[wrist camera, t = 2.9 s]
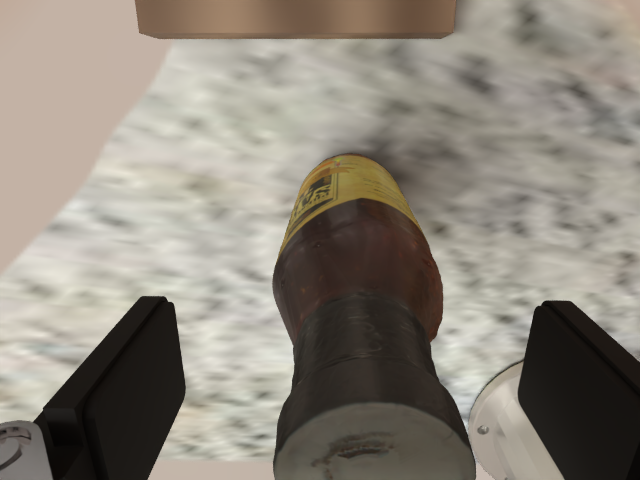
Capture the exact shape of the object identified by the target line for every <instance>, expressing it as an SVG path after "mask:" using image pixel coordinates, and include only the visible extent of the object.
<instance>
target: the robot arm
mask: <svg viewBox="0 0 640 480" xmlns="http://www.w3.org/2000/svg"><path fill="white" fill-rule="evenodd" d="M185 389H186V387H185V378H184V371H183V364H182V357H181V350H180V342H179V335H178V328H177V321H176V314H175V307H174V304H173V303H172V302H168V301H167V299H166V297H164V296H142V297H140V298H139V299H138V301H137V302H136V303H135V304H134V305H133V306H132V307H131V308H130V310H129V311H128V312H127V313H126V314H125V315H124V316H123V318H122V319H121V320H120V321H119V322H118V323H117V324H116V326H115V327H114V328H113V329H112V330H111V331H110V332H109V333H108V335H107V336H106V337H105V338H104V339H103V340H102V341H101V343H100V344H99V345H98V346H97V347H96V348H95V349H94V351H93V352H92V353H91V354H90V355H89V356H88V357H87V358H86V360H85V361H84V362H83V363H82V364H81V365H80V366H79V368H78V369H77V370H76V371H75V372H74V373H73V374H72V376H71V377H70V378H69V379H68V380H67V381H66V382H65V384H64V385H63V386H62V387H61V388H60V389H59V390H58V391H57V393H56V394H55V395H54V396H53V397H52V398H51V399H50V401H49V402H48V403H47V404H46V405H45V406H44V407H43V411H42V412H41V413H40V415H39V416H38V417H37V418H36V419H35V420H34V422H31V421H22V420H17V421H10V422H5V423H1V424H0V480H147V479H148V477H149V475H150V473H151V470H152V468H153V466H154V464H155V462H156V460H157V457H158V455H159V453H160V451H161V449H162V447H163V444H164V442H165V440H166V438H167V436H168V433H169V431H170V429H171V427H172V425H173V422H174V420H175V418H176V416H177V414H178V411H179V409H180V407H181V405H182V403H183V400H184V397H185ZM468 430H469V439H470V442H471V446H472V449H473V451H474V453H475V456H476V458H477V460H478V462H479V463H480V465H481V466H482V467H483V469H484V470H485V471H486V472H487V473H488V474H489V475H491V476H492V477H493V478H494V479H495V480H640V362H639V361H638V360H636V359H635V358H634V357H633V356H632V355H631V354H630V353H629V352H627V351H626V350H625V349H624V348H623V347H622V346H621V345H620V344H619V343H617V342H616V341H615V340H614V339H613V338H612V337H611V336H610V335H608V334H607V333H606V332H605V331H604V330H603V329H602V328H601V327H599V326H598V325H597V324H596V323H595V322H594V321H593V320H592V319H590V318H589V317H588V316H587V315H586V314H585V313H584V312H583V311H582V310H580V309H579V308H578V307H577V306H576V305H575V304H574V303H572V302H571V301H547V300H546V301H544V302H543V303H542V305H541V306H537V307H536V309H535V311H534V315H533V320H532V324H531V329H530V334H529V339H528V343H527V348H526V353H525V357H524V361H523V362H521V363H519V364H517V365H515V366H513V367H511V368H509V369H508V370H506V371H505V372H503V373H502V374H500V375H499V376H497V377H496V378H495V379H494V380H493V381H492V382H491V383H490V384H488V385H487V386H486V387H485V389H484V390H483V391H482V393H481V394H480V395H479V397H478V398H477V400H476V402H475V404H474V406H473V408H472V410H471V414H470V418H469V423H468Z"/></svg>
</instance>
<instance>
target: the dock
mask: <svg viewBox="0 0 640 480" xmlns="http://www.w3.org/2000/svg"><path fill="white" fill-rule="evenodd" d="M135 4H136V11H137V18H138V27H139V33H141V34H144V35H148V36H151V37H154V38H158V39H441V38H443V37H445V36H447V35H449V34H451V33H453V29H454V19H455V9H456V0H135Z"/></svg>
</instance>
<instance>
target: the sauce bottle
mask: <svg viewBox="0 0 640 480" xmlns="http://www.w3.org/2000/svg"><path fill="white" fill-rule="evenodd" d="M272 285H273V294H274V298H275V301H276V304H277V307H278V309H279V312H280V314H281V317H282V319H283V322H284V324H285V327H286V329H287V331H288V334H289V336H290V339H291V341H292V344H293V346H294V347H293V354H294V363H295V365H294V375H293V379H292V389H291V393H290V395H289V397H288V398H287V400H286V401H285V403H284V405H283V407H282V410H281V413H280V416H279V419H278V424H277V437H276V448H275V455H274V461H273V471H274V477H275V480H475V479H476V464H475V459H474V455H473V452H472V448H471V445H470V442H469V439H468V434H467V432H466V429H465V426H464V423H463V421H462V419H461V416H460V413H459V410H458V408H457V405H456V403H455V401H454V399H453V398H452V396H451V395H450V393H449V392H448V390H447V389H446V388H445V387H444V386H443V385H442V384H441V383H440V382H439V379H438V377H437V375H436V371H435V366H434V362H433V360H432V357H431V345H430V342H431V341H432V340H433V339H434V338H435V337H436V336H437V331H438V328H439V326H440V323H441V321H442V314H443V285H442V282H441V276H440V274H439V270H438V267H437V265H436V262H435V260H434V259H433V257H432V254H431V251H430V248H429V245H428V242H427V240H426V238H425V236H424V234H423V232H422V230H421V228H420V226H419V224H418V222H417V221H416V219H415V217H414V215H413V214H412V212H411V210H410V208H409V206H408V204H407V202H406V200H405V199H404V197H403V195H402V193H401V191H400V189H399V187H398V185H397V183H396V181H395V180H394V179H393V177H392V176H391V175H390V174H389V173H388V171H387V170H385V169H384V168H383V167H382V166H381V165H379V164H378V163H376V162H374V161H373V160H371V159H369V158H368V157H365V156H362V155H360V154H350V153H348V154H343V155H338V156H336V157H333V158H330V159H326V160H324V161H323V162H322V163H320V164H319V165H318V166H317V167H316V168H315V169H313V170H312V171H311V172H310V173H309V175H308V176H307V177H306V179H305V180H304V182H303V184H302V186H301V188H300V191H299V194H298V197H297V200H296V203H295V206H294V209H293V211H292V214H291V218H290V220H289V224H288V227H287V230H286V233H285V237H284V240H283V243H282V246H281V249H280V252H279V255H278V259H277V262H276V265H275V269H274V274H273V283H272Z"/></svg>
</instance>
